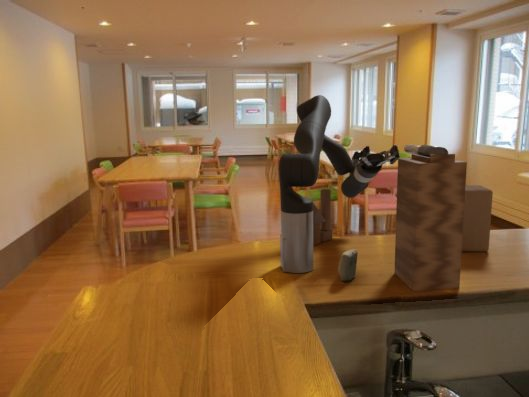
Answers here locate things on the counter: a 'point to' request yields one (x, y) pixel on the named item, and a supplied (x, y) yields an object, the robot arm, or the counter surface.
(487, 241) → the wooden block
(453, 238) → the brown tall block
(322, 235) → the wooden block
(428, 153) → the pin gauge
